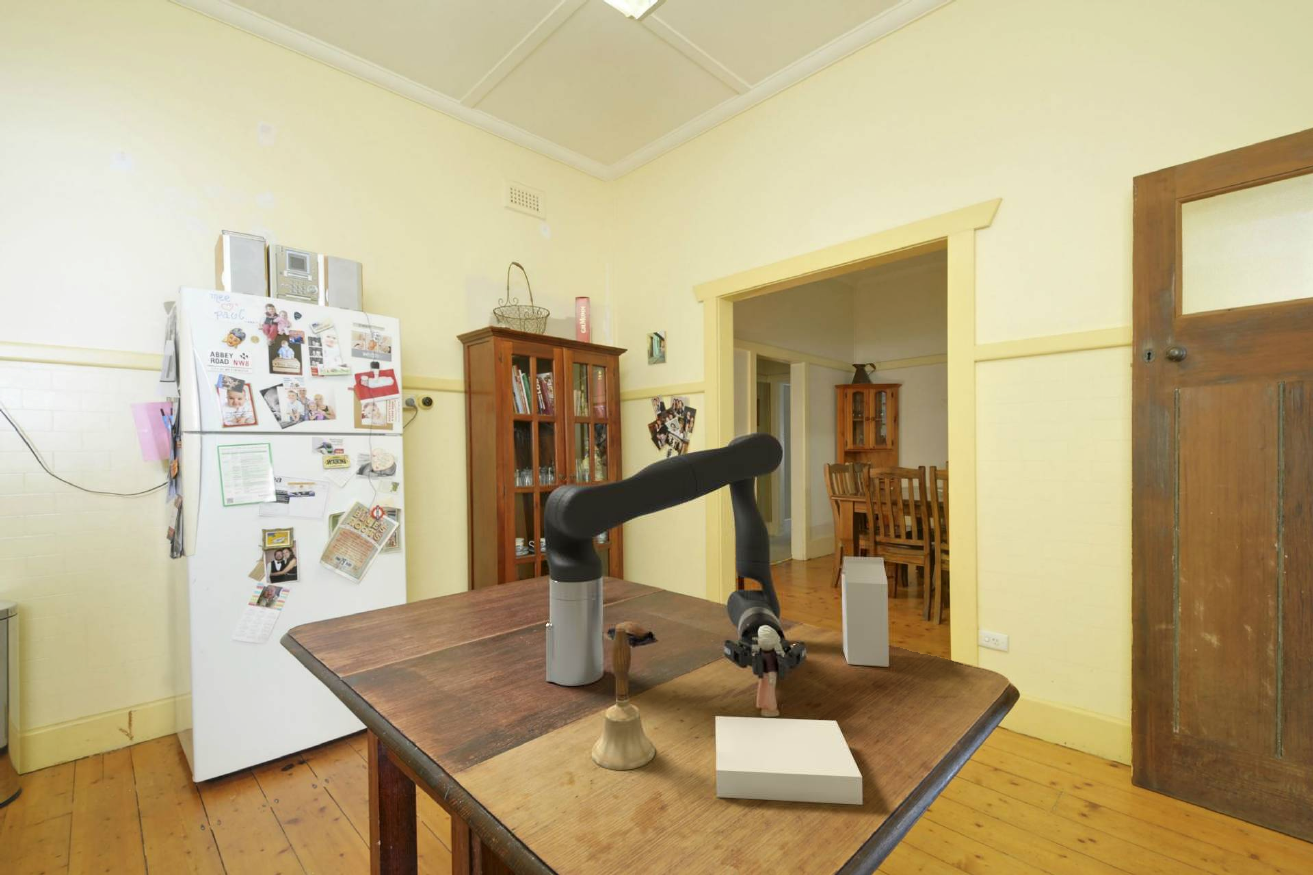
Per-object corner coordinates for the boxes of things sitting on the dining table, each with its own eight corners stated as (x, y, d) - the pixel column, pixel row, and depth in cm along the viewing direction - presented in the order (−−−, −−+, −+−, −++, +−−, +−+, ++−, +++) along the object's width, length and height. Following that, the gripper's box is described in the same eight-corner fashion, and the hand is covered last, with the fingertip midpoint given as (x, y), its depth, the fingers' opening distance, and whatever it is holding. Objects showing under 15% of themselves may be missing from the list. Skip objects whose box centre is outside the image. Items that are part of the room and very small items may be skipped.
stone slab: (716, 797, 64) (716, 770, 64) (715, 738, 76) (715, 716, 77) (862, 804, 62) (862, 777, 62) (836, 743, 75) (836, 720, 75)
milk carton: (889, 667, 101) (887, 561, 101) (847, 665, 102) (846, 560, 103) (881, 653, 108) (879, 554, 108) (842, 651, 109) (841, 553, 110)
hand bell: (609, 778, 67) (608, 644, 68) (580, 747, 74) (580, 626, 75) (667, 757, 72) (666, 631, 72) (635, 730, 79) (634, 616, 79)
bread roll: (599, 638, 120) (599, 621, 120) (632, 630, 125) (631, 613, 125) (627, 652, 111) (627, 633, 111) (661, 643, 116) (661, 625, 117)
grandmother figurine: (750, 701, 88) (747, 619, 88) (774, 699, 88) (771, 618, 88) (763, 725, 80) (761, 635, 80) (789, 723, 81) (787, 634, 81)
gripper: (720, 611, 99) (722, 644, 82) (800, 612, 98) (820, 647, 81) (720, 654, 99) (723, 696, 82) (801, 656, 98) (820, 700, 81)
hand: (771, 672), depth 81 cm, fingers closed on grandmother figurine, 2 cm apart
